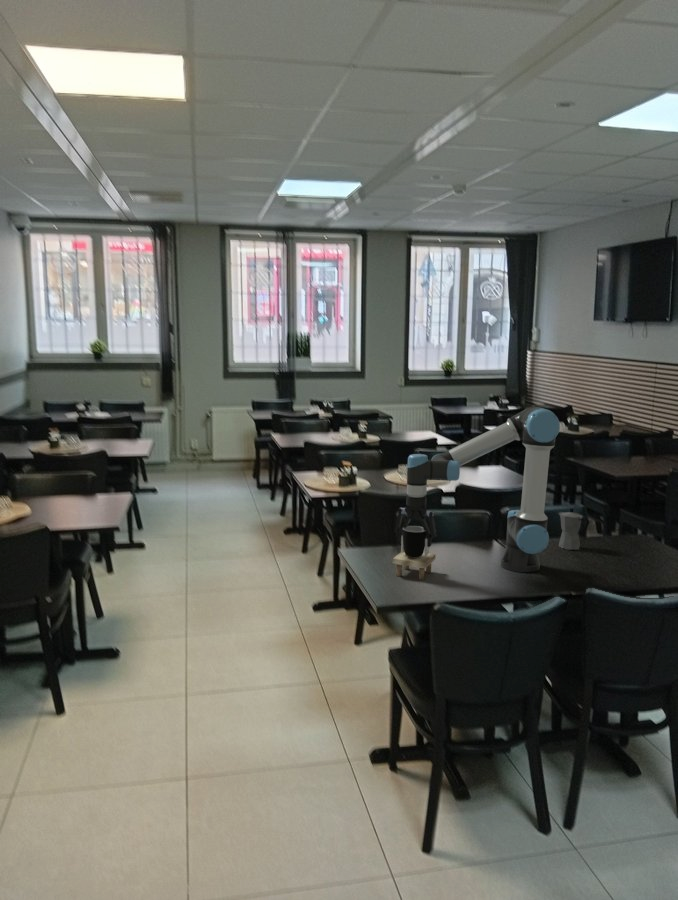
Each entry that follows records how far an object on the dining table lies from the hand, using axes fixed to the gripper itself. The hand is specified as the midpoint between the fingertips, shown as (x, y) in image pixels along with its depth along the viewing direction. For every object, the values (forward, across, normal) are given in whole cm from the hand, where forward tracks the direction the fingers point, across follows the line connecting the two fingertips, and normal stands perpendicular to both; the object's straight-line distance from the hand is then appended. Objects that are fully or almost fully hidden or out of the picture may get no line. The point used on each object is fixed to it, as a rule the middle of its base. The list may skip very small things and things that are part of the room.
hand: (414, 553), depth 270 cm
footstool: (+8, 0, 0) cm, 8 cm away
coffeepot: (+9, -51, -65) cm, 83 cm away
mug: (+1, +1, 0) cm, 1 cm away
